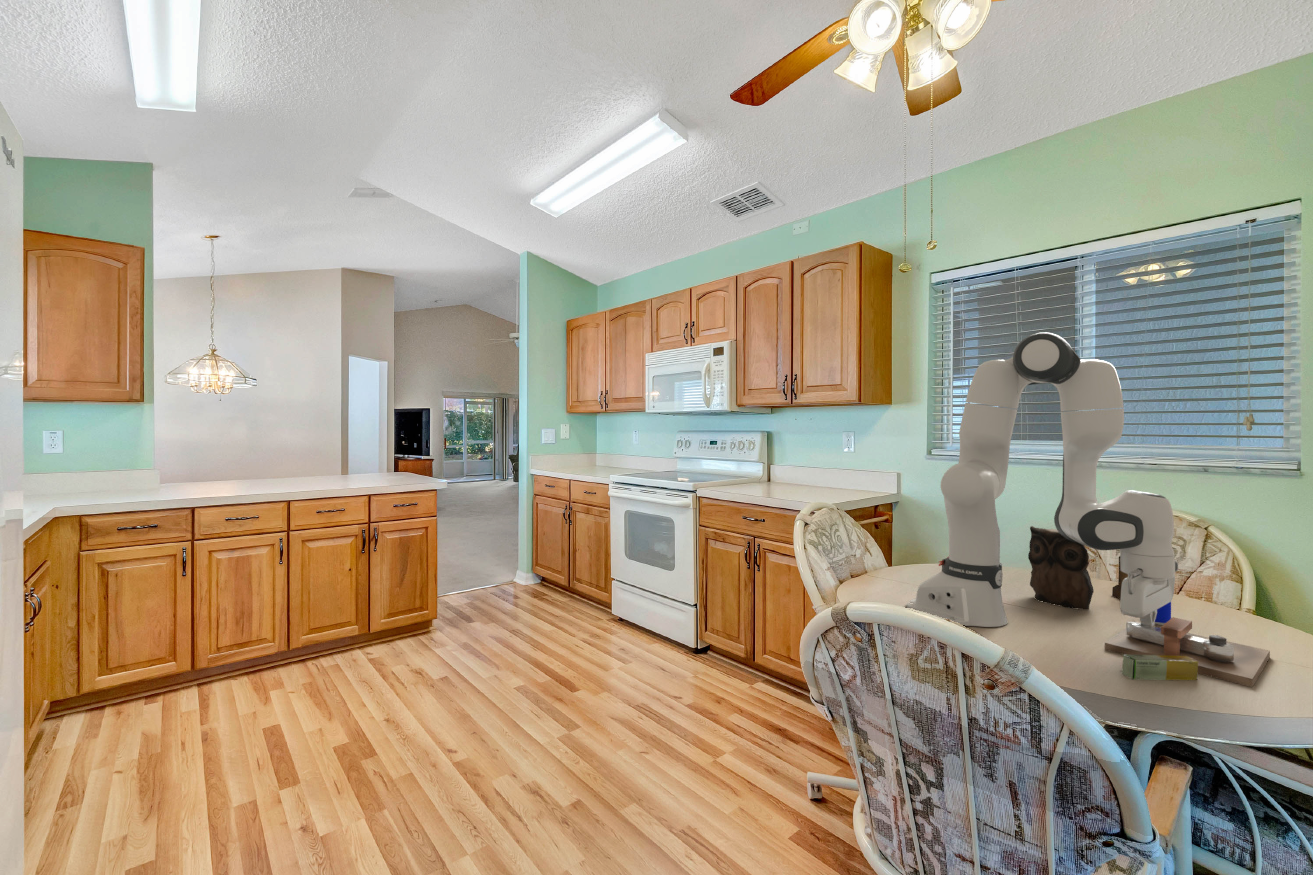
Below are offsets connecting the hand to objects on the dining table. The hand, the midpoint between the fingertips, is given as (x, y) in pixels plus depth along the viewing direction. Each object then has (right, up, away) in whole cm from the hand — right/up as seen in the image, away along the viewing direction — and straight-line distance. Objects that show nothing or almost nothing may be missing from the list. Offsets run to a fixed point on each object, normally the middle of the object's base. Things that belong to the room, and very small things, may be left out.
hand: (1147, 629), depth 121 cm
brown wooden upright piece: (+24, -3, +33) cm, 41 cm away
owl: (+4, -3, +30) cm, 30 cm away
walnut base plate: (+4, -3, -5) cm, 7 cm away
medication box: (-12, -4, -16) cm, 20 cm away
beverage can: (+15, -3, +14) cm, 21 cm away
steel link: (+1, -1, -6) cm, 6 cm away
